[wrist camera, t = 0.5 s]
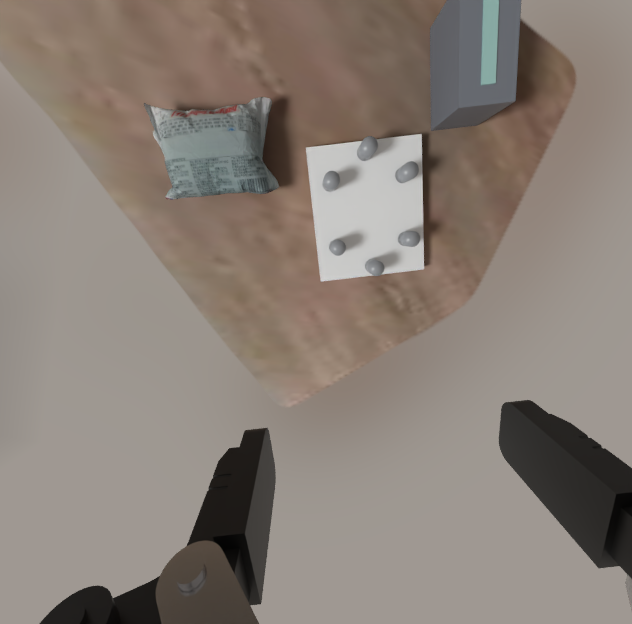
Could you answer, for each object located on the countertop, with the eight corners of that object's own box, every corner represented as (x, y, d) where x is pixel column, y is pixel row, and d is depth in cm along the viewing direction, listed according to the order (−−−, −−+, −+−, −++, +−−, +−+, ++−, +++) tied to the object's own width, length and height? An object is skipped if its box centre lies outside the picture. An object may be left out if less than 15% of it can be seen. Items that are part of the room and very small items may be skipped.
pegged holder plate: (306, 150, 31) (305, 140, 28) (417, 137, 31) (431, 125, 28) (320, 279, 35) (322, 285, 31) (420, 268, 35) (433, 272, 31)
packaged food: (158, 113, 30) (131, 92, 25) (273, 106, 30) (267, 83, 26) (175, 203, 33) (153, 199, 28) (282, 195, 33) (278, 190, 28)
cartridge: (429, 29, 29) (461, -23, 23) (479, 23, 29) (524, -31, 23) (430, 131, 31) (459, 107, 25) (477, 125, 31) (516, 100, 25)
